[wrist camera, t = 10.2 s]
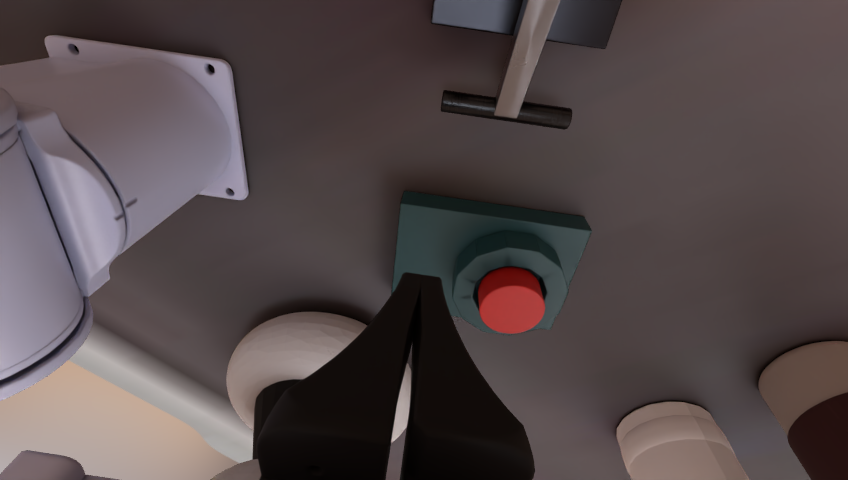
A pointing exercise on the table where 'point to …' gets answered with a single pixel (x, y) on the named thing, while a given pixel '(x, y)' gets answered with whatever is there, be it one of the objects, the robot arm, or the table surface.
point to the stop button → (510, 300)
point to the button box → (487, 249)
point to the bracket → (499, 10)
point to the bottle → (676, 444)
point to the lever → (517, 76)
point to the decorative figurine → (289, 370)
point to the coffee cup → (812, 405)
